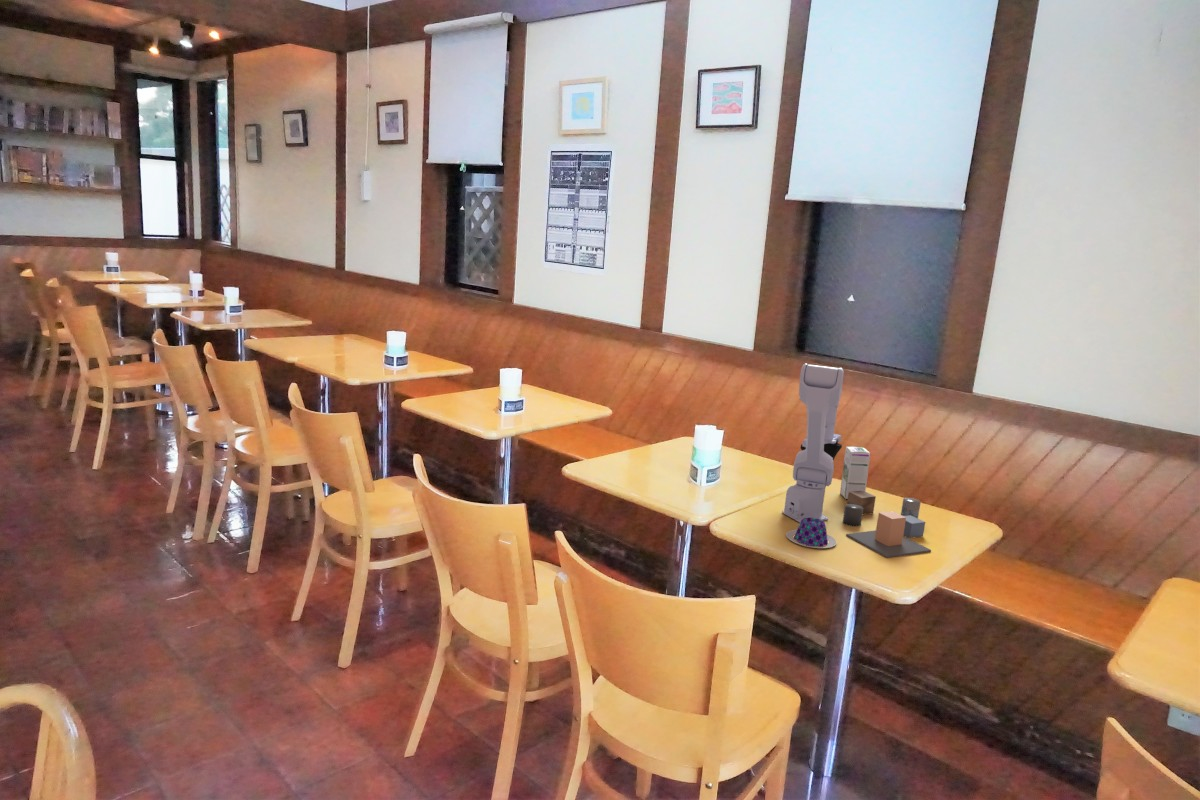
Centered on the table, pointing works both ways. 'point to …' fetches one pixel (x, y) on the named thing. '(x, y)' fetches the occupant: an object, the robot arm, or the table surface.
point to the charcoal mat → (888, 551)
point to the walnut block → (862, 500)
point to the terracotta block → (890, 528)
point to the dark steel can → (910, 507)
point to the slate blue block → (913, 527)
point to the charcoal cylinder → (852, 515)
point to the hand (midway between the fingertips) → (818, 469)
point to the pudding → (811, 534)
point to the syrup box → (854, 470)
